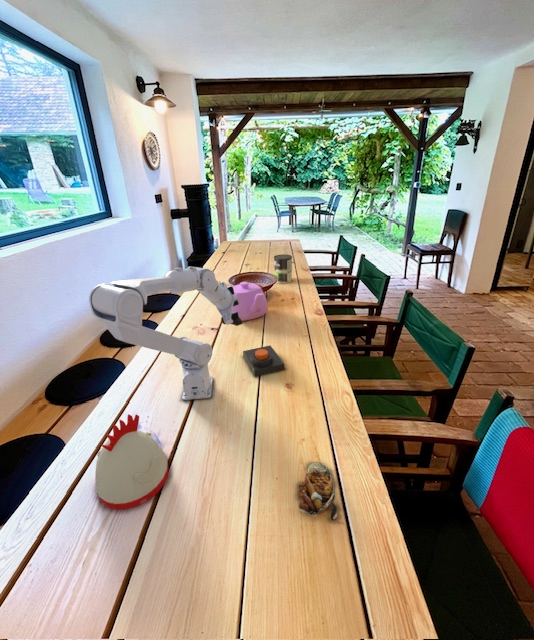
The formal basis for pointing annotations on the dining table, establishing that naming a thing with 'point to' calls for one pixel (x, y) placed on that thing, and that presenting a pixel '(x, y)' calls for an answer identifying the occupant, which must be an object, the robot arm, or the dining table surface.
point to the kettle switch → (263, 361)
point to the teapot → (249, 301)
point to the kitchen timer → (129, 467)
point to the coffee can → (283, 268)
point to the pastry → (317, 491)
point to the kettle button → (261, 354)
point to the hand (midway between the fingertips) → (237, 314)
